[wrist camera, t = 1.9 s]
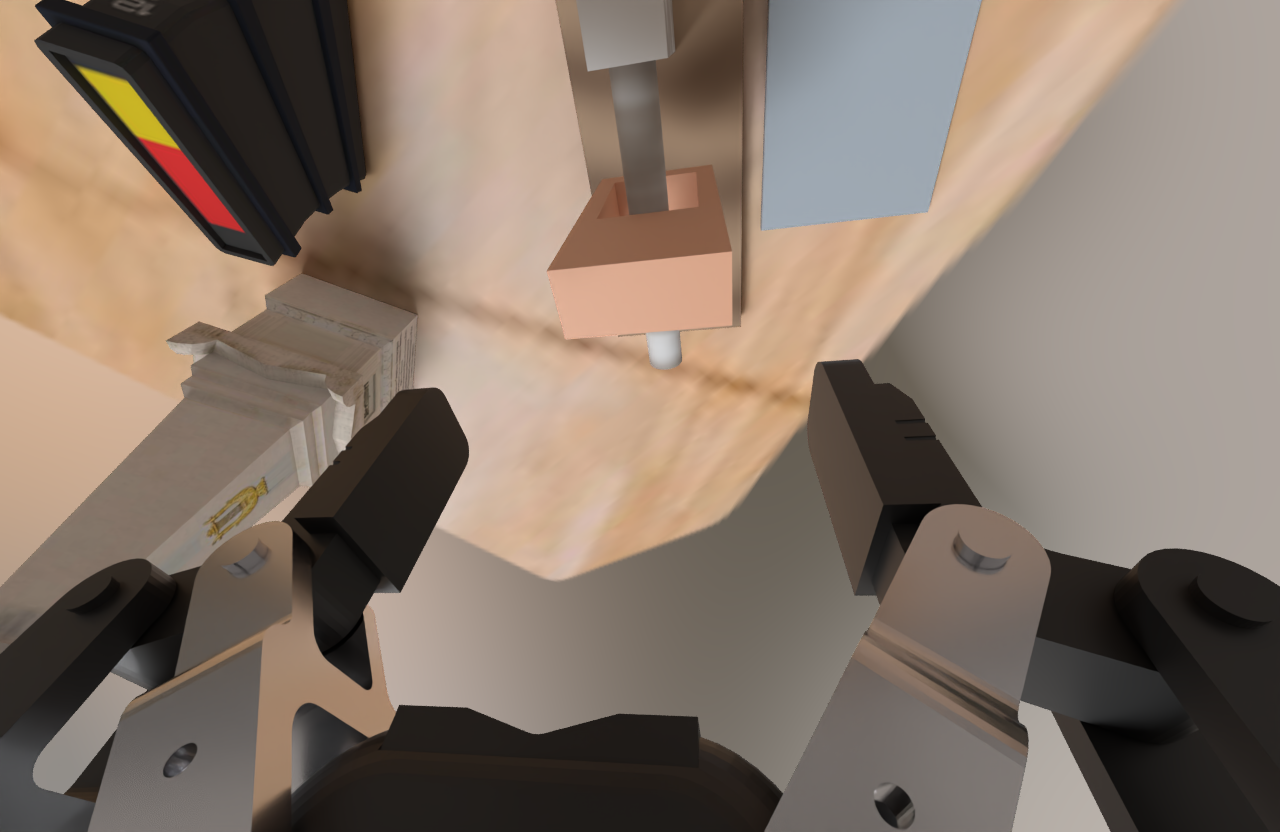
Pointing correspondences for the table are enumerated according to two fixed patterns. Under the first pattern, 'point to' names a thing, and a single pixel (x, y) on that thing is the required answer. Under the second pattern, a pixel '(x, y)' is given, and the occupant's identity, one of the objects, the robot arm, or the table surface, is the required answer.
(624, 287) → the salmon hollow block
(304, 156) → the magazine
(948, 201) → the table surface
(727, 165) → the stand
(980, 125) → the table surface
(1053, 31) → the table surface
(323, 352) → the miniature monument
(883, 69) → the mat
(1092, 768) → the robot arm
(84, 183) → the table surface
